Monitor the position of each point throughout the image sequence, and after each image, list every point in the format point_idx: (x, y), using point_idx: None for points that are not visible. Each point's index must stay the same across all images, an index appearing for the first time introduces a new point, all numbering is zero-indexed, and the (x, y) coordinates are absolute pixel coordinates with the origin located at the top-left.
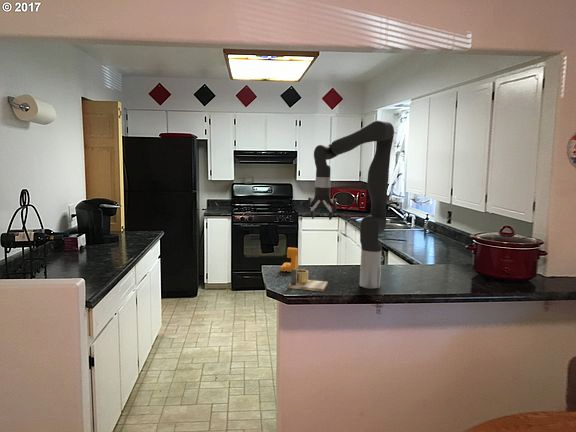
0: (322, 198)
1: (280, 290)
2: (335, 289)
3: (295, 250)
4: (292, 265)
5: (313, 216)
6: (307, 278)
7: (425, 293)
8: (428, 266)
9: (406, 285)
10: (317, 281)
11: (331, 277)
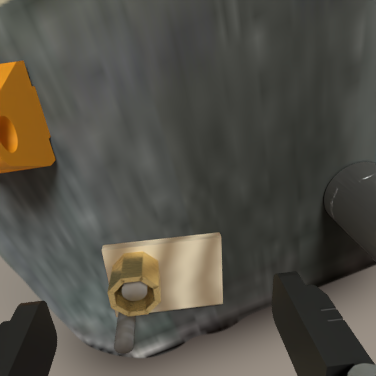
0: None
1: (107, 333)
2: (251, 267)
3: (1, 164)
4: (34, 167)
5: (46, 360)
6: (159, 277)
7: None
8: None
9: None
10: (188, 248)
11: (216, 147)
